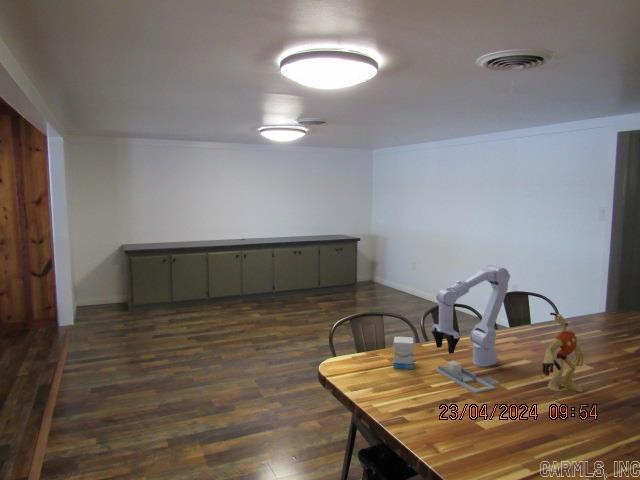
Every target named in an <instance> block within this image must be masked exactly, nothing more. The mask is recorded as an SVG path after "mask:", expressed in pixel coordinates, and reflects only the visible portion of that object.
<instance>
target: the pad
mask: <svg viewBox="0 0 640 480" xmlns="http://www.w3.org/2000/svg"><path fill="white" fill-rule="evenodd" d="M479 379H481V380H483V381H485V382H487V383H489V384H491V385H495V384H498V383H499V384H500V383H501V382H500V381H498V380H496V379H494V378H493V377H490V376H486V377H481V378H479Z"/></svg>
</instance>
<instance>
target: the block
mask: <svg viewBox="0 0 640 480" xmlns="http://www.w3.org/2000/svg"><path fill="white" fill-rule="evenodd" d="M446 367H447V369H448V370H450V371H452V372H454V373H455V374H461V367H462V363H460V362H459V361H456V360H451V361H447V362H446Z"/></svg>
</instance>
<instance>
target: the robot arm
mask: <svg viewBox="0 0 640 480" xmlns="http://www.w3.org/2000/svg"><path fill="white" fill-rule="evenodd" d="M510 278H511V275H510V273H509V271H508V269H506V268H505V267H499V266H494V265H492V264H488V265H485V266H484V267H482V268H481V269H480V270H479V271H478V272H476V273H475V274H473V275H472V276H470V277H469V278H468V279H466V280H465V281H464V280H457V281H456V282H455V283H454V284H452V285H450V286H447V288H446V289H445V288H443V289H442V288H441V289H440V290H439V291H438V292H437V295H436V296H435V298H436V300H437V303H438V324H437V323H434V324H432V329H433V330H431V334H432V335H433V337H434V341H435V344H436V345H435V346H436V348H437V349H439V348H442V347H443V339H444V335H448V336H446V338H445V340H446V341H447V349H448V354H454V353H455V350H456V347H457V345H458V342H459V341H460V340H461V337H460V332H458V331H456V330H455V329H454V328H453V327H454V321H453V320H454V305H455V304H456V302H457V300H458V299H460V298H461V297H463V296H465V295H467V293H469V292H470V289H471V288H474V287H475V286H477V285H479V284H480V283H483V282H485V281H487V282H488V283H489V284H490V285H491V287H492V291H491V293H490V296H489V299H488V301H487V303H486V307H485V310H484V312H483V314H482V318H481V320H480V322H479V323H477V324H475V326H474V327H473V329H472V330H471V332H470V334H469V339H470V341H471V342H472V363H473V364H474V365H475V366H477V367H489V366H492V365H497V357H498V356H497V354H498V353H497V349H496V348H495V344H496V336H497V332H496V330H495V328H494V327H495V324H496V322H497V319H498V316H499V314H500V312H501V309H502V306H503V303H504V300H505V297H506V295H507V292H508V287H509V281H510Z"/></svg>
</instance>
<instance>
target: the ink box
mask: <svg viewBox="0 0 640 480" xmlns="http://www.w3.org/2000/svg"><path fill="white" fill-rule="evenodd" d="M392 354H393V358H392V364H393V365H392V367H393V369H399V370H400V369H401V370H414V337H411V336H409V337H408V336H394V339H393V353H392Z"/></svg>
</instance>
